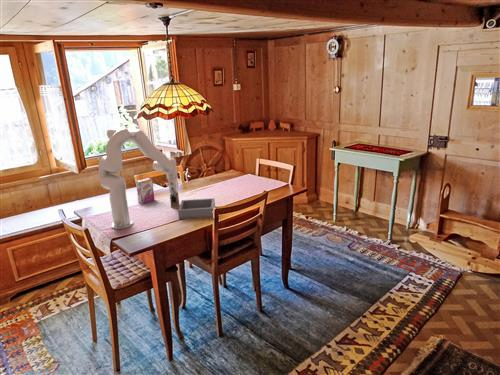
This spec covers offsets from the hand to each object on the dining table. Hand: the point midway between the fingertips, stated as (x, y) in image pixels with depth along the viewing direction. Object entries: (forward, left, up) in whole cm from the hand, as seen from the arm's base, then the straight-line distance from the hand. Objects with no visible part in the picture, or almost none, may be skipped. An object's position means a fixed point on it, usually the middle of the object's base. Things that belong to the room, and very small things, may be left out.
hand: (175, 199), depth 250 cm
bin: (-16, -17, -5) cm, 24 cm away
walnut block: (0, 0, -5) cm, 5 cm away
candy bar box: (+15, +23, -5) cm, 28 cm away
